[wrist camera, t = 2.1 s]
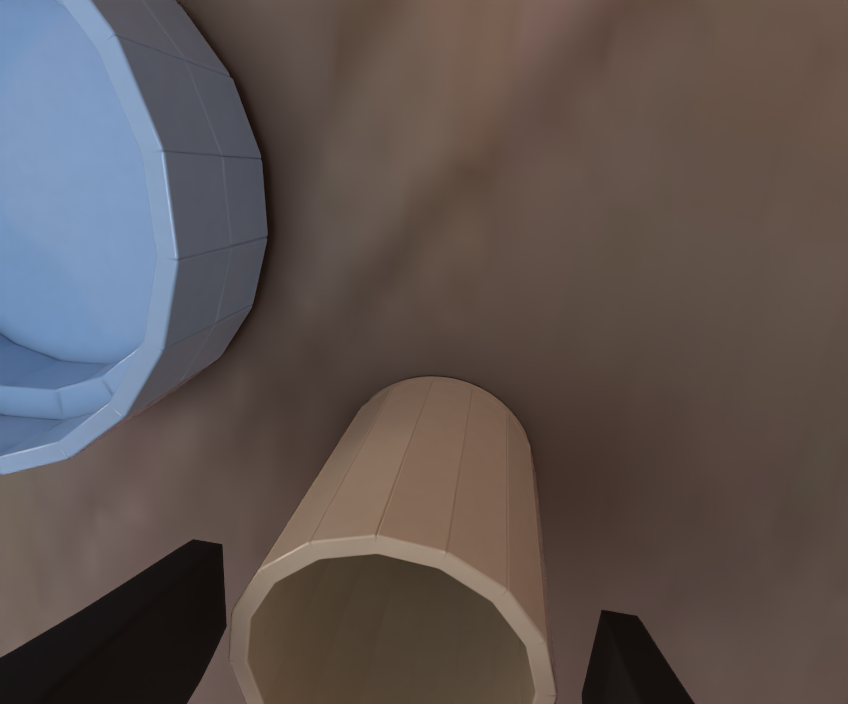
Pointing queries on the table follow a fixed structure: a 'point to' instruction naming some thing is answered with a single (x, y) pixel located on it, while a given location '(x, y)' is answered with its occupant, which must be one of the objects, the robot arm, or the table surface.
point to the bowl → (115, 217)
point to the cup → (407, 565)
